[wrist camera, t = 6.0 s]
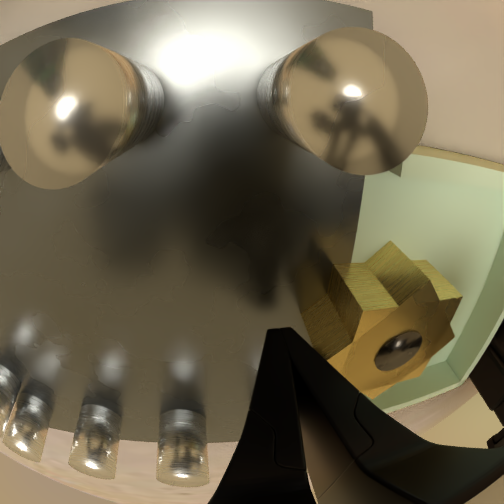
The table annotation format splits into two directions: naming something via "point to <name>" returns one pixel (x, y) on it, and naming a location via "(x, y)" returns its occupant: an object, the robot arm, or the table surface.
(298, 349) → the robot arm
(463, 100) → the table surface
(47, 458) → the table surface
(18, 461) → the table surface
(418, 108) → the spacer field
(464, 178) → the tray
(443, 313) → the gear
